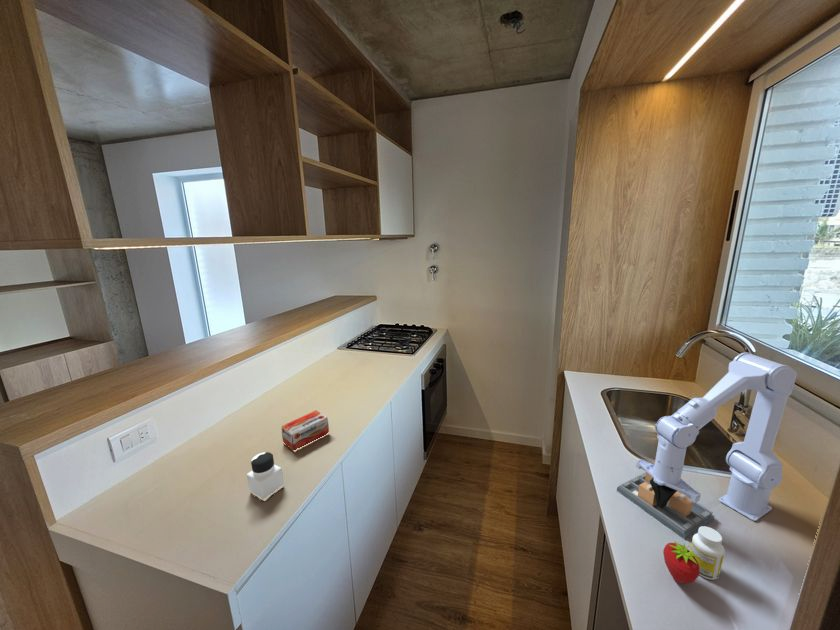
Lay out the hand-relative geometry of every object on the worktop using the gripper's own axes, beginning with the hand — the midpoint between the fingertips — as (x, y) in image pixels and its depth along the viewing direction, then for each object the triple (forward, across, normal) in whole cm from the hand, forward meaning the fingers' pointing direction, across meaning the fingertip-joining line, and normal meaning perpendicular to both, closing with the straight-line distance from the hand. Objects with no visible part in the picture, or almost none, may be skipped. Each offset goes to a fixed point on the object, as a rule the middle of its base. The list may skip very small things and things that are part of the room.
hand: (661, 505), depth 89 cm
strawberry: (+3, +12, -15) cm, 20 cm away
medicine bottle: (+3, -58, -97) cm, 113 cm away
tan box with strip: (+1, +2, +4) cm, 5 cm away
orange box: (+1, -3, 0) cm, 4 cm away
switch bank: (+3, -2, +4) cm, 5 cm away
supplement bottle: (+3, +13, -7) cm, 15 cm away
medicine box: (+3, -80, -83) cm, 115 cm away
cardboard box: (+1, -6, +8) cm, 10 cm away
